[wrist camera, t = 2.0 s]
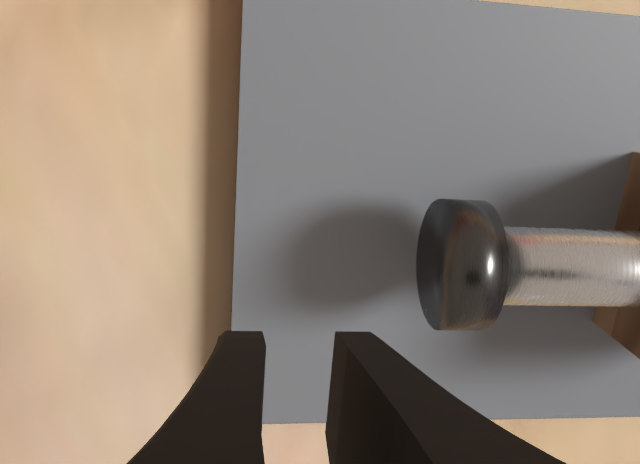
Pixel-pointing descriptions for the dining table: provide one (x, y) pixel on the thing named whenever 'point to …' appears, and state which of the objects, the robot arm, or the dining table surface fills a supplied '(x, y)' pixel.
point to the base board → (426, 188)
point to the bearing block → (625, 322)
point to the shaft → (516, 266)
